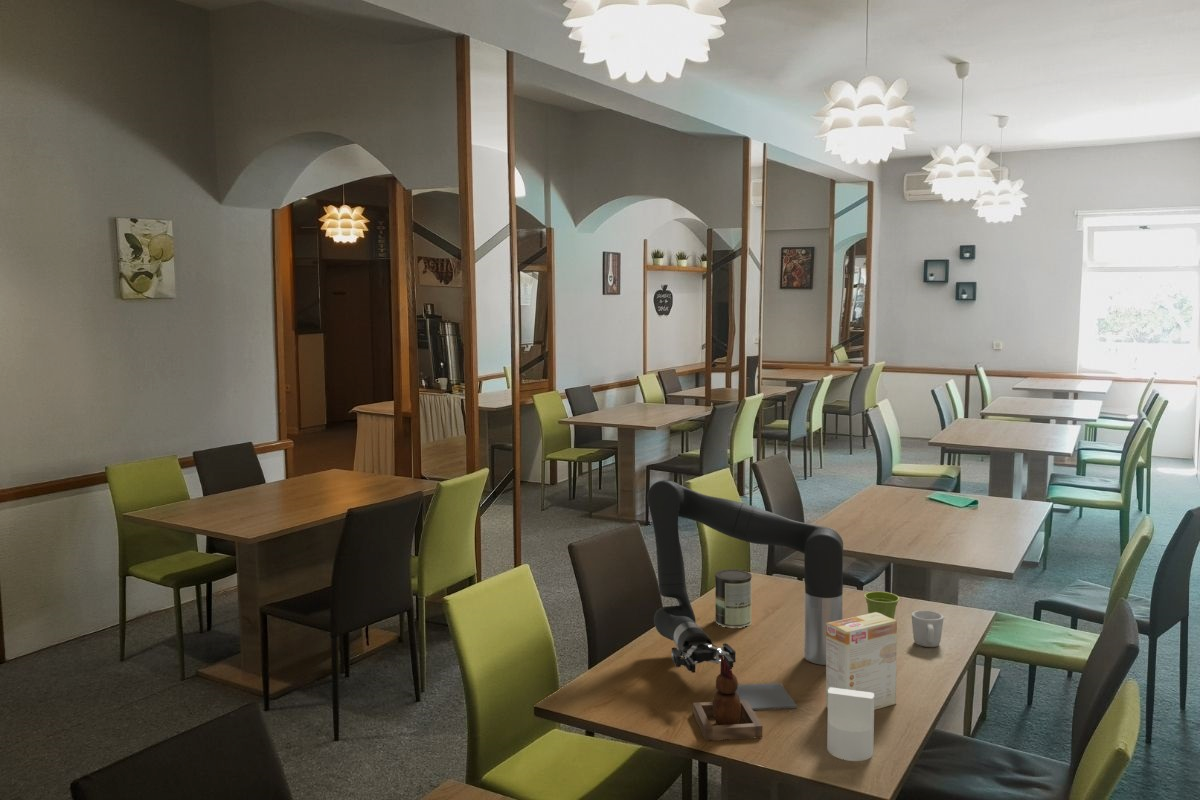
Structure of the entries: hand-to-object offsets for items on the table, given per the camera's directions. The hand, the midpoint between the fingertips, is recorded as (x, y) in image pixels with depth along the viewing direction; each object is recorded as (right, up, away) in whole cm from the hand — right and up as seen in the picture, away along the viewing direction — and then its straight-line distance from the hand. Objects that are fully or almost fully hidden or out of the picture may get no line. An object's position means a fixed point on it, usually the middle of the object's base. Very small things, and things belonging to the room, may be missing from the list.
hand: (712, 667), depth 206 cm
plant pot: (+53, -4, +51) cm, 74 cm away
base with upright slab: (+25, -11, -21) cm, 34 cm away
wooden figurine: (+2, -10, -9) cm, 14 cm away
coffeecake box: (+33, -9, 0) cm, 34 cm away
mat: (+12, -8, +5) cm, 15 cm away
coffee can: (+13, -4, +56) cm, 58 cm away
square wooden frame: (+2, -10, -9) cm, 13 cm away
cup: (+61, -5, +36) cm, 71 cm away
